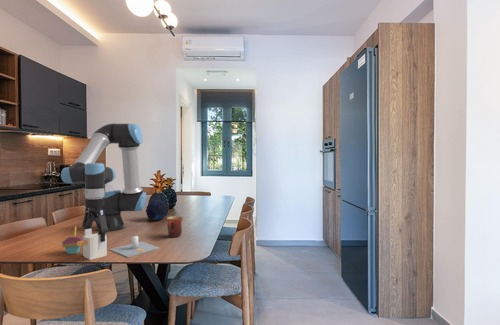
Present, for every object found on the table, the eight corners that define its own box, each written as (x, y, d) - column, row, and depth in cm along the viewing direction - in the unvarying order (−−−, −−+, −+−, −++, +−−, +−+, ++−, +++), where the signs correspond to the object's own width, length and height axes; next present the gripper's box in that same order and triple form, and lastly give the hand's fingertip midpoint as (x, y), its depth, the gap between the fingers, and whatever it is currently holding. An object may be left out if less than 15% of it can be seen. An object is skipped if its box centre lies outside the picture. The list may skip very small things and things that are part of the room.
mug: (171, 233, 164) (171, 215, 164) (185, 234, 162) (185, 216, 162) (160, 239, 152) (160, 220, 152) (175, 240, 150) (175, 220, 150)
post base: (110, 250, 134) (110, 237, 134) (141, 242, 146) (141, 230, 146) (127, 257, 124) (127, 243, 124) (159, 248, 136) (159, 236, 136)
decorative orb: (152, 216, 187) (163, 196, 195) (137, 213, 195) (148, 195, 203) (165, 225, 197) (175, 206, 205) (150, 223, 205) (160, 205, 212)
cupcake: (68, 249, 135) (68, 224, 134) (87, 249, 135) (87, 224, 135) (58, 255, 126) (58, 228, 126) (78, 255, 127) (78, 228, 127)
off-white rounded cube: (99, 252, 131) (99, 232, 130) (106, 255, 126) (106, 235, 126) (74, 258, 122) (74, 237, 122) (81, 262, 118) (80, 240, 118)
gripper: (74, 196, 130) (74, 242, 130) (98, 201, 115) (98, 253, 115) (91, 195, 136) (91, 239, 136) (116, 199, 120) (116, 249, 120)
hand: (94, 246), depth 125 cm, fingers open, 13 cm apart
